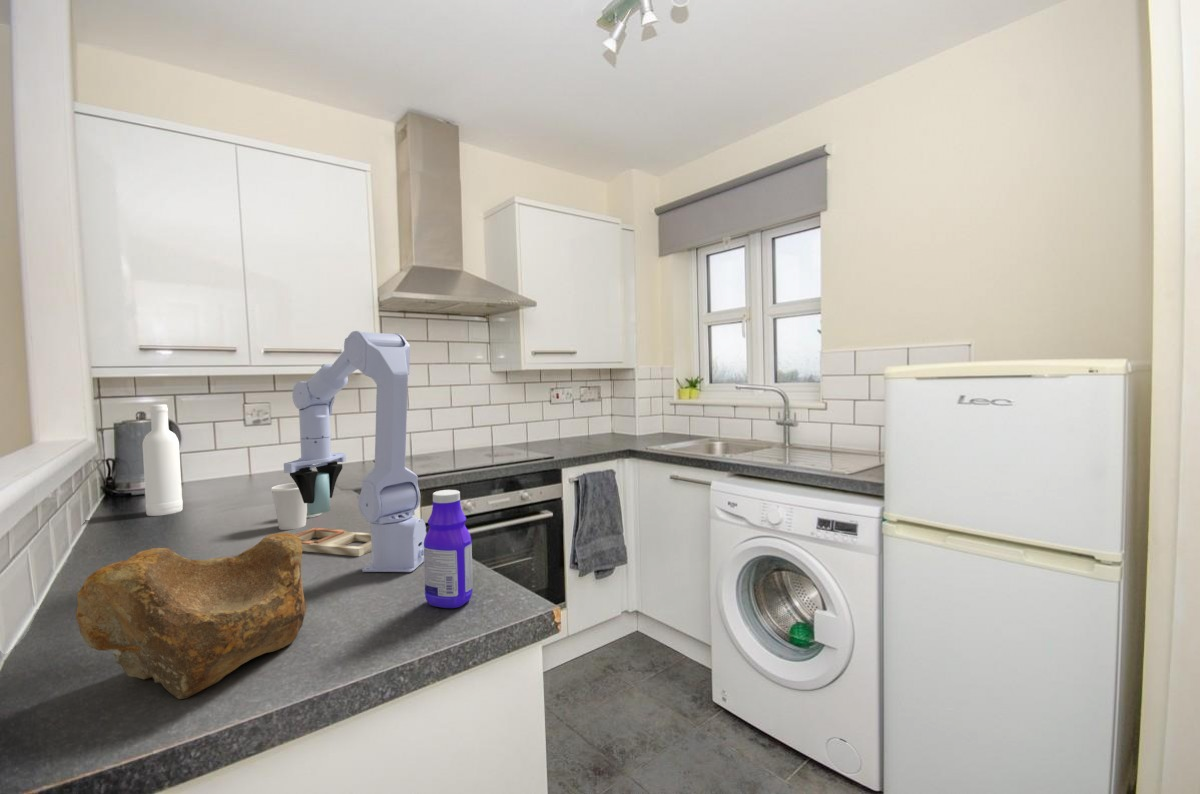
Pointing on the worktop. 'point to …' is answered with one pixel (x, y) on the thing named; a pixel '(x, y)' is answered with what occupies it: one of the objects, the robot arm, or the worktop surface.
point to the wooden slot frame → (335, 541)
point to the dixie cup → (289, 506)
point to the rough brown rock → (194, 611)
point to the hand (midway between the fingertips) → (318, 500)
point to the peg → (320, 495)
